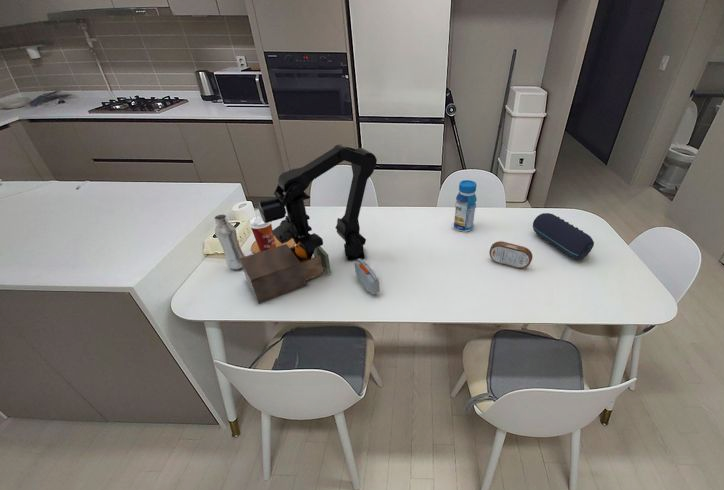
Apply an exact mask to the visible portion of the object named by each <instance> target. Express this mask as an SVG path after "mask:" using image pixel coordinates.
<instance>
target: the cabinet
mask: <svg viewBox="0 0 724 490" xmlns="http://www.w3.org/2000/svg"><path fill="white" fill-rule="evenodd" d="M290 248H291V247H289V245H288V243H283V244H282V245H278V246H276V247H275V248H271V249H268V250H265V251H262V252H260V251H259V252H255V253H253V254H249V255H246V256H245V257H243V258H239V259H240V262H241V265H242V268H241V269H242V270H243V273H244V276H245V279H246V282H247V284H248V286H249V287H250V289H251V292H252V293H253V296H254V298H255V299H256V302H257V304H262V303H265V302H267V301H269V300H272V299H276V298H278V297H281V296H282V295H285V294H288V293H291V292H295V291H296V290H299V289H302V288H304V287H306V286H307V285H306V280H305V279H304V275H303V271H302V266H301V263H300V261H299V260H298V259H297V257H296V256H295V255H294V253H293V252H292V251H291V249H290Z"/></svg>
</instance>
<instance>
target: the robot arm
mask: <svg viewBox="0 0 724 490" xmlns="http://www.w3.org/2000/svg"><path fill="white" fill-rule="evenodd" d="M344 161H345V162H348V163H350V166H351V171H352V179H351V184H350V188H349V193H348V197H347V202H346V208H345V211H344V215H343V216H342V217H341V218H340V217H338V218H337V220H336V226H335V230H336V234H337V235H338V236H339V237H340V238H341V239H342V240H343V241H344V244H343V246H344V247H343V249H344V254H345V255H344V256H345V257H346V261H357V259H359V258H360V259H361V260H364V259H365V258H366V256H365V252H364V246H365V245H366V241H367V238H366V237H364V236H363V235H362V234H361V233H360V230H361V228H360V227H361V226H360V222H359V216H360V214H361V213H360V212H361V208H362V205H363V200H364V195H365V191H366V187H367V186H366V185H367V182H368V180H369V178H370V177H371V176H372V175H373V173H374V171H375V168H376V166H377V163H378V159H377V156H375V154H374V153H372V152H371V151H369V150H367V149H365V148H363V147H358V148H354V147H350V146H345V145H343V144H336V145H335V146H333V148H331V149H329V150H328V151H326V152H324V153H322V154H321V155H320V156H318V157H316V158H315V159H313V160H312V161H310V162H309V163H307V164H305V165H304V166H301V167H297V168H292V169H290V170H287V171H285V172H282V173H281V174H279V176H278V180H277V182H278V183H277V185H276V188H275V190H274V192H273V196H274V197H270V198H263V199H259V200H258V212H259V214H260V215H259V216H261V217H262V219H263V221H264V223H267V222H271V221H272V222H275V221H278V220H281V219H283V220H281V222H280V223H279V225H278V226H277V227H275V228H274V229H272V230H273V231H272V233H273V235H274V238H275V239H276V240H277V241H278V242H279V243H280V244H282V245H284V244H286V243H288V242H289V241H291V240H293V241H294V244H295V246H296V245H297V244H298V243H299V242H300V245H299V246H300V247H301V248H302V249H304V250H305V252H306V255H307V257H308V259H311V258H313V257H314V254H313V253H314V250H315V248H316V247H319V246H321V247H322V246H323V245H324V240H323V238H322V237H321V236H320V235H319V234H316V233H315V232H313V233H310V232H312V231H313V229H312V227H311V226H310V225H309V221H308V220H310V219H311V218H310V215H308V214H307V210H306V209H307V208H306V205H305V200H309V199H311V196H310V195H309V194H308V193H307V192H306V190H308V188H309V186H310V184H311V183H312V182H313V181H314V180H316V179H318V178H319V177H320V176H322V175H324V174H326V173H327V172H328V171H330V170H331V169H333V168H335V167H336V166H338V165H339V164H341V163H343V162H344ZM284 193H285V194H284Z"/></svg>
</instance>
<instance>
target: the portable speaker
mask: <svg viewBox="0 0 724 490" xmlns="http://www.w3.org/2000/svg"><path fill="white" fill-rule="evenodd" d="M532 229H533V231H534V233H535V234H536V235H537V236H538V237H540V238H541V239H543V240H544V241H546V242H547V243H548V244H550V245H552V246H553V247H555V248H557V249H558V251H559V250H560V251H561V252H562V253H564V254H565V255H566V256H568V257H570V258H572V259H574V260H576V261H581V260H583V259H585V257H587V256H588V255H589V254H590V253H591V251H592V249H593V248H594V246H595V245H594V244H595V242H594V239H593V238H592V236H591V235H589V234H588V233H586V232H584V230H583V229H579V228H578V227H577V226H574V224H571V223H570V222H569V221H565V219H563V218H561V217H560V216H557V215H555V214H554V213H549V212H544V213H540V214H538V215H537V216H536V217H535V218H534V220H533V222H532Z"/></svg>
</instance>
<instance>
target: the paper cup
mask: <svg viewBox="0 0 724 490" xmlns="http://www.w3.org/2000/svg"><path fill="white" fill-rule="evenodd" d="M272 223H273V221H271V222H267V223H264V221H263V219H262V217H261V215H258V216H254V217H252V218H251V219H250V220H249V225H248V226H249V228H250V229H251V231H252V234H253V237H254V239H255V242H256V245H257V247H258V250H259V252H262V251H265V250H268V249H271V248H275V247H277V246H276V240H275V236H274V235H273V233H272V231H273V230H274V229H273V225H272Z"/></svg>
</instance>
